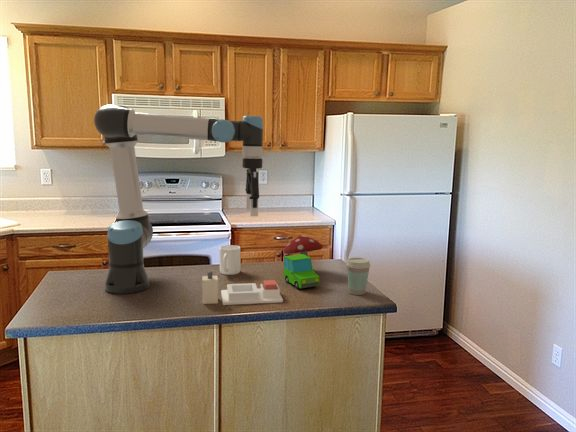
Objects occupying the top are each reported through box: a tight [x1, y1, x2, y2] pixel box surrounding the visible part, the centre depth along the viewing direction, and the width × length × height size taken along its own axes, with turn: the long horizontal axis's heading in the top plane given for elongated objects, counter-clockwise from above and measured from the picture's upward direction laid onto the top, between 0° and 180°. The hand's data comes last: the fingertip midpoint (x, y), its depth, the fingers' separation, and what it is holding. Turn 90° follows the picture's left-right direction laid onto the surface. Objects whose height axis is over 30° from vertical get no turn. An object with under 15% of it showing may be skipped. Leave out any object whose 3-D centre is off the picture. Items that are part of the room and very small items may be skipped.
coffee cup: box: [345, 257, 371, 296], centre depth 175 cm, size 9×9×12 cm
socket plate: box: [220, 282, 284, 306], centre depth 169 cm, size 20×13×3 cm, turn 100°
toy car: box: [283, 253, 320, 290], centre depth 183 cm, size 10×13×10 cm
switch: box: [262, 279, 278, 290], centre depth 170 cm, size 4×5×2 cm
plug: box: [201, 271, 219, 305], centre depth 164 cm, size 5×5×10 cm
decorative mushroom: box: [283, 234, 324, 257], centre depth 199 cm, size 16×16×15 cm
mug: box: [219, 244, 241, 276], centre depth 195 cm, size 12×8×10 cm
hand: (251, 213), depth 189 cm, fingers open, 13 cm apart
